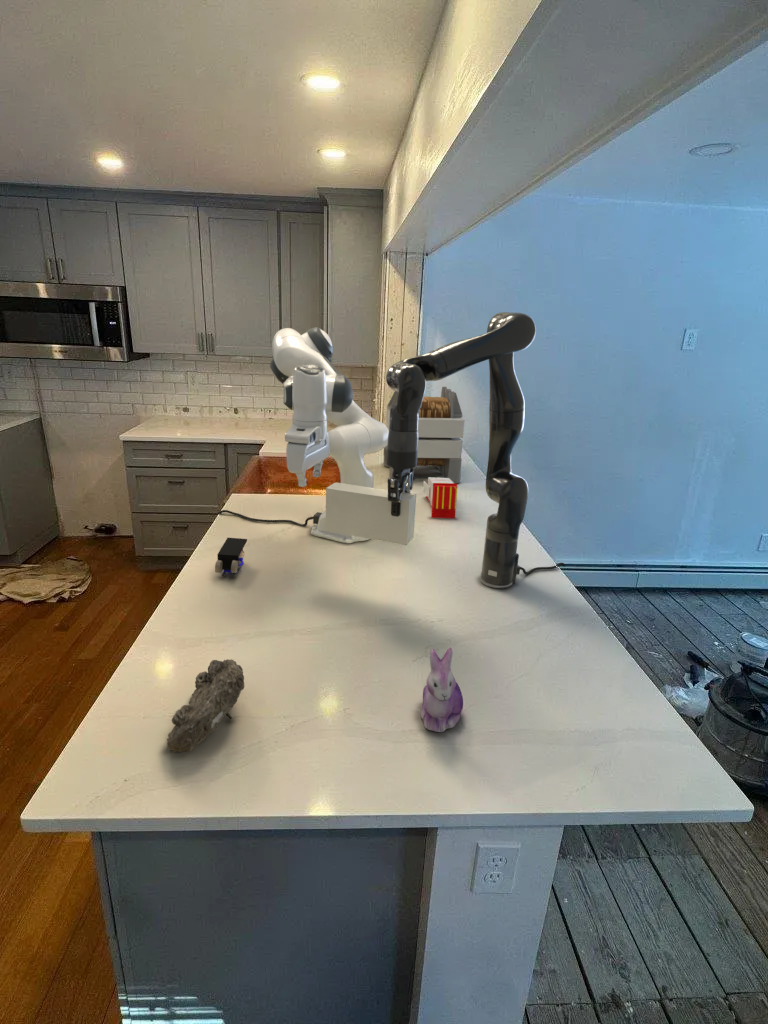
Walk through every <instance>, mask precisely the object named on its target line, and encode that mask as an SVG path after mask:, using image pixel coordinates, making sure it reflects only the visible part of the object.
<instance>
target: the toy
mask: <svg viewBox="0 0 768 1024" xmlns="http://www.w3.org/2000/svg"><path fill="white" fill-rule="evenodd" d="M422 493H424V494H425V498H426V500H427V501H428V502H429V504H430V506H431V517H430V518H432V519H456V514H457V513H456V512H457V498H458V483H453V482H452V481H451V480H450V479H449V478H444V477H431V476H430V477H429V476H428V477H427V482H426V481H425V480H423V484H422Z"/></svg>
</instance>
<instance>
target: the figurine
mask: <svg viewBox="0 0 768 1024" xmlns="http://www.w3.org/2000/svg"><path fill="white" fill-rule="evenodd" d="M453 655H454V649H453V647H448V648H446V650H445V652H444V653H443V656H442V658H440V657H439V655H438V652H437V651H436V649H434V648H430V651H429V661H430V672H429V673H428V675H427V678H426V685H425V686H424V688H423V690H422V702H421V708H420V717H421V720H422V721H423V725H424V727H425V729H427V730H428V731H433V732H435V733H444V732H445V731H446V730H447V729H453V728H454V727H455V726H456V725H457V723H459V721H460V718H461V715H462V711H463V707H464V697H463V693H462V690H461V687H460V684H459V683H458V682H457V680H456V677H455V676H454V673H453V671H452V660H453Z"/></svg>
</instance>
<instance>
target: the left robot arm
mask: <svg viewBox="0 0 768 1024" xmlns="http://www.w3.org/2000/svg"><path fill="white" fill-rule="evenodd" d="M271 354H272V358H271V360H270V364H269V367H270V370H271V373H272V375H273V376H274V378H275V380H277V381H278V382H279V383H281V385H283V405H285V406H286V407H287V408H288V409H289V410H291V411H293V413H292V423H291V425H290V427H289V428H288V430H287V431H286V432H285V434H284V441H285V442H286V443H287V445H286V448H285V449H286V451H285V452H286V454H285V455H286V467H287V470H288V472H289V473H291V474H295V476H296V478H297V483H298V484H297V485H298V487H300V488H305V487H306V486H307V485H308V479H307V478H306V474H307V471H308V470H310V469H311V468H313V470H312V477H313V478H319V477H321V475H322V468H323V464H324V460H326V459H327V458H329V457H331V458H332V459H333V460H334V462H335V463H336V465H337V468H338V471H339V478H340V480H339V481H340V482H339V483H344V484H351V485H357V486H364V487H371V488H374V473H373V471H372V470H371V469H369V468H368V467H366V465H365V460H364V458H365V456H368V455H372V454H376V453H378V452H380V451H382V450H384V448H385V447H386V446H387V443H388V433H389V430H388V428H387V424H385V423H384V422H383V421H379V420H377V419H375V418H374V417H372V416H371V415H369V414H368V413H367V412H366V411H364V410H363V408H361V407H360V406H359V405H358V404H357V403H356V402H355V401H354V391H353V387H352V382H351V381H350V380H349V379H348V377H347V376H346V375H344V374H341V373H340V371H339V370H338V369H337V368H336V367H335V365H333V364H332V357H333V354H334V346H333V342H332V339H331V336H329V334H328V333H327V332H326V331H325V330H323V329H321V328H320V327H317V326H315V327H311V328H309V329H307V331H306V332H304V333H303V334H301V333H300V332H298V331H297V330H296V329H294V328H291V327H283V328H281V329H279V330H278V331H277V332H276V333H275V335H274V337H273V339H272V343H271ZM328 423H330V424H332V425H335V426H336V427H334V428H331V429H330V430H329V431H328ZM223 513H227V514H231V515H234V516H237V517H240V518H242V519H245V520H248V521H253V522H261V523H290V524H293V525H296V526H300V527H306V526H308V521H310V520H312V524H314V525H313V526H312V528H311V530H310V533H311V536H315V537H319V538H323V539H326V540H330V541H336V542H339V543H343V544H352V543H357V542H365V541H368V540H370V539H368V538H363V537H357V536H351V535H346V534H340V533H334V532H329V531H326V509H325V510H323V512H319V511H318V512H316V513H315V514H313V515H312V516H309V517H307V518H306V519H305V521H304V523H303V524H302V523H299V522H297V521H294V520H291V519H261V518H253V517H249V516H246V515H244V514H241V513H238V512H234V511H231V510H228V509H222V510H219V511H218V512H217V515H221V514H223Z"/></svg>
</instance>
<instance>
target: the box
mask: <svg viewBox="0 0 768 1024" xmlns="http://www.w3.org/2000/svg"><path fill="white" fill-rule="evenodd" d="M394 497H396V496H395V494H394ZM391 502H392V501H388V489H385V488H377V487H373V488H371V487H364V486H357V485H351V484H344V483H340V482H334V483H332V484H330V485H329V486H327V487H325V510H326V531H329V532H334V533H340V534H346V535H351V536H357V537H363V538H368V539H369V540H375V541H380V542H385V543H386V542H387V543H391V544H397V545H401V546H408V545H409V544H410V542H411V541H412V540H413V539H414V536H415V521H416V506H417V505H416V504H417V493H411V492H410V493H405V492H404V494H402V498H401V508H400V516H398V517H397V516H392V515H391Z"/></svg>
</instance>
